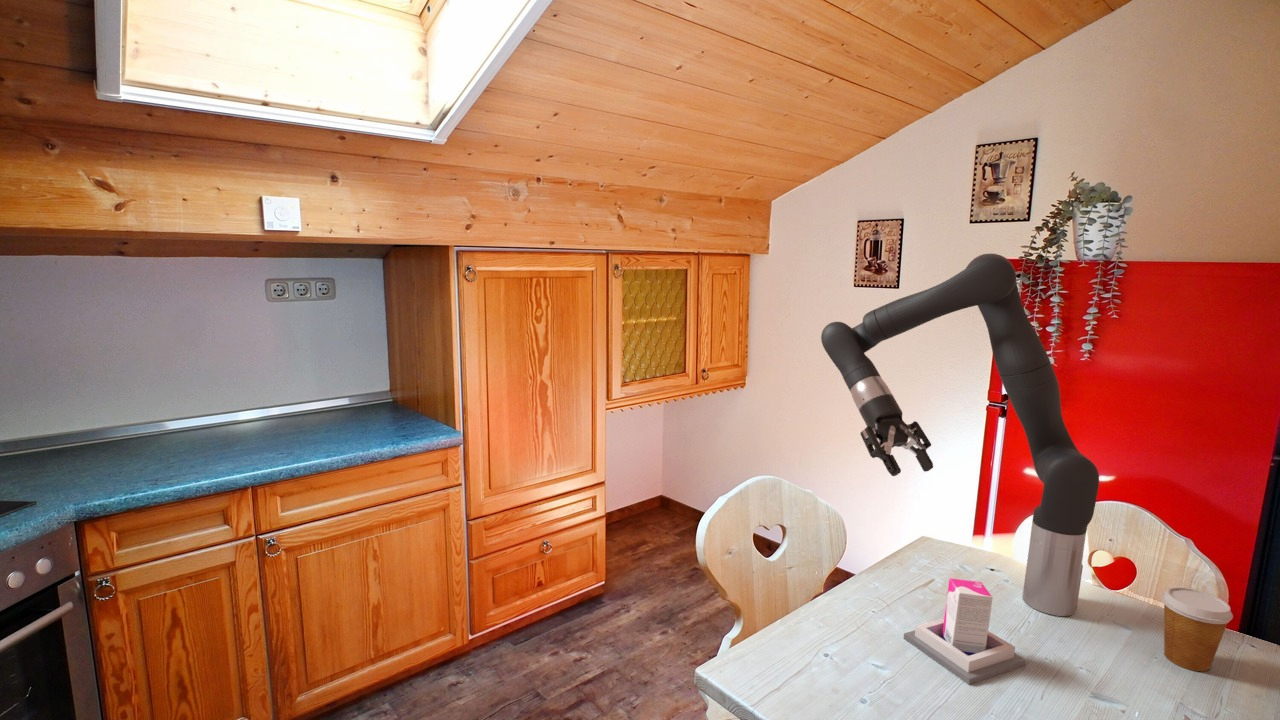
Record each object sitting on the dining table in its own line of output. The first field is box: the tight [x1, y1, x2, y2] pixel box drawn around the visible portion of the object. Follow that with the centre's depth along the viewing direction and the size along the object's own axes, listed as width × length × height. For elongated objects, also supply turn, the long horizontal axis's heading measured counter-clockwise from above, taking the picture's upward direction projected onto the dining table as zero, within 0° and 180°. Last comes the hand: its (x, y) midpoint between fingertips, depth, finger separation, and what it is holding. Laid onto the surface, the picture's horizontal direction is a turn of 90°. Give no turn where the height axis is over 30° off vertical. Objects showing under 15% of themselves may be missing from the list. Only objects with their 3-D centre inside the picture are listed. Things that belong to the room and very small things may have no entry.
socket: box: [903, 617, 1026, 685], centre depth 115 cm, size 14×14×3 cm
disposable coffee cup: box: [1161, 586, 1234, 673], centre depth 113 cm, size 10×10×12 cm
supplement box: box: [942, 577, 994, 655], centre depth 114 cm, size 6×6×12 cm
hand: (913, 472), depth 125 cm, fingers open, 8 cm apart
